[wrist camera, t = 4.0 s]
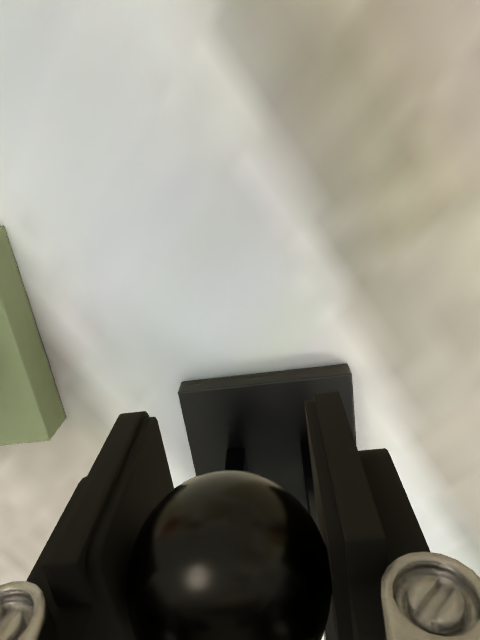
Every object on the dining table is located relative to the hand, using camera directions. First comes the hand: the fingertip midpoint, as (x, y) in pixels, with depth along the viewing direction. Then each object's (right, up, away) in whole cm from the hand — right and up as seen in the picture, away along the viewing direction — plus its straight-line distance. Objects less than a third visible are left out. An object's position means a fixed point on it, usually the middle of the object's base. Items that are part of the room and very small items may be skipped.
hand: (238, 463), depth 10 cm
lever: (+1, -4, +2) cm, 5 cm away
